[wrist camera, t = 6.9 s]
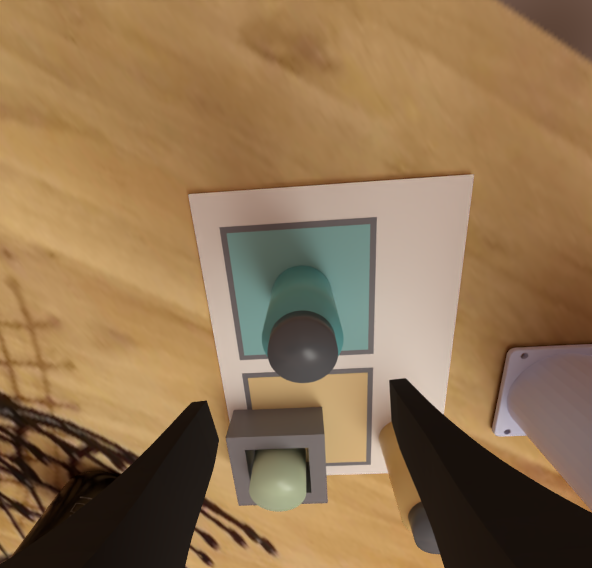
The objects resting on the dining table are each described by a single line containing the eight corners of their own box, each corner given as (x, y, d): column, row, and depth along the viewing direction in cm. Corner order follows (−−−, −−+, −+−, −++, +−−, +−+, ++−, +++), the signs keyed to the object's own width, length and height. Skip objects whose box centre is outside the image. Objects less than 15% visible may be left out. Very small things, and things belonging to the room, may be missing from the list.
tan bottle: (430, 416, 24) (481, 513, 17) (426, 454, 25) (472, 557, 19) (379, 419, 24) (410, 515, 17) (378, 456, 25) (406, 558, 19)
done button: (304, 431, 23) (304, 470, 20) (307, 469, 25) (307, 510, 22) (252, 433, 24) (245, 472, 21) (258, 471, 25) (252, 512, 22)
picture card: (471, 174, 18) (474, 174, 18) (434, 468, 26) (436, 472, 26) (189, 194, 19) (187, 194, 18) (240, 474, 27) (239, 478, 27)
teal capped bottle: (331, 264, 20) (347, 312, 13) (331, 319, 21) (346, 389, 14) (270, 266, 20) (254, 315, 13) (274, 321, 21) (262, 391, 14)
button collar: (321, 403, 24) (324, 434, 21) (324, 467, 26) (327, 503, 24) (234, 407, 24) (225, 438, 21) (245, 470, 27) (238, 505, 24)
